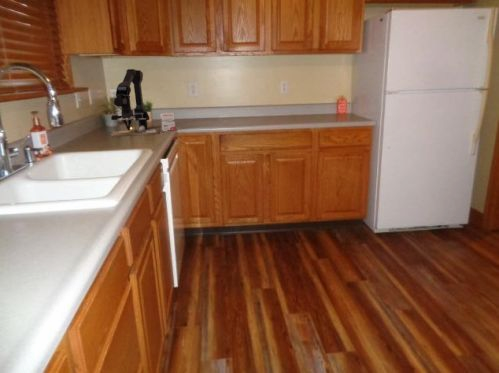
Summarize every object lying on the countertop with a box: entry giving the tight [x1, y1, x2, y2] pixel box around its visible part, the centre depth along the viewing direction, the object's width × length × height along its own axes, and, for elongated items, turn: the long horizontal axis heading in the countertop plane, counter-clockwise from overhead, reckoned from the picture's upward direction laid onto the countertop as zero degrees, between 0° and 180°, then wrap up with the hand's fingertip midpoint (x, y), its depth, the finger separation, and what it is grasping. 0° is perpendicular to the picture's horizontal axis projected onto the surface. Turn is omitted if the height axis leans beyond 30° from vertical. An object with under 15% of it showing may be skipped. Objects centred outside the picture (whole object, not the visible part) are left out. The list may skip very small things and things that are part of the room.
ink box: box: [159, 112, 177, 132], centre depth 255 cm, size 8×5×12 cm, turn 114°
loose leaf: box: [118, 126, 137, 133], centre depth 242 cm, size 9×10×4 cm
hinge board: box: [110, 125, 159, 138], centre depth 243 cm, size 12×28×5 cm, turn 104°
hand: (128, 130), depth 243 cm, fingers closed
